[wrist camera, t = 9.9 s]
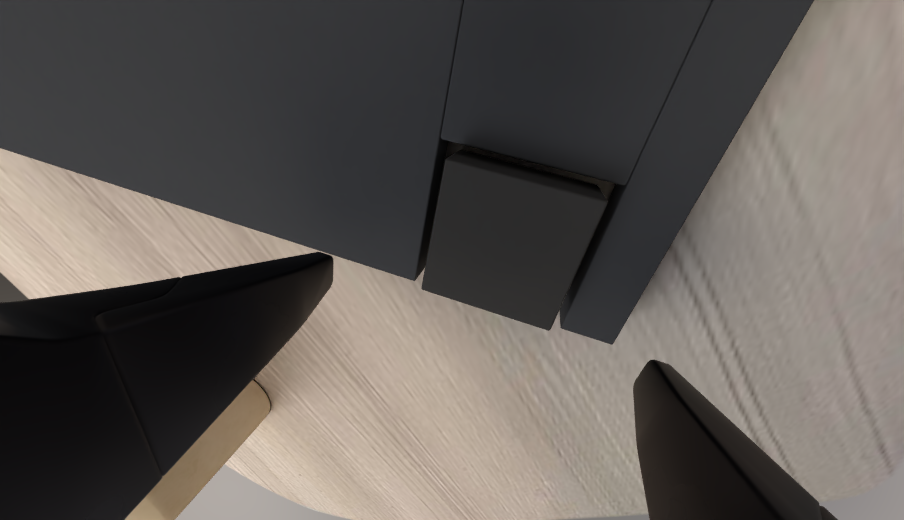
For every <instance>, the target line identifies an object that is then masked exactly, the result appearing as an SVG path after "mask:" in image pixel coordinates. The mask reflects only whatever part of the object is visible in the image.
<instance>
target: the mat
mask: <svg viewBox="0 0 904 520" xmlns="http://www.w3.org/2000/svg"><path fill="white" fill-rule="evenodd" d="M813 1H814V0H0V148H2V149H5V150H8V151H11V152H14V153H17V154H20V155H24V156H27V157H30V158H33V159H36V160H39V161H42V162H45V163H49V164H52V165H55V166H58V167H61V168H64V169H67V170H70V171H73V172H77V173H80V174H83V175H86V176H89V177H92V178H95V179H98V180H101V181H105V182H108V183H111V184H114V185H117V186H120V187H123V188H126V189H129V190H133V191H136V192H139V193H142V194H145V195H148V196H151V197H154V198H158V199H161V200H164V201H167V202H170V203H173V204H176V205H179V206H182V207H186V208H189V209H192V210H195V211H198V212H201V213H204V214H207V215H210V216H214V217H217V218H220V219H223V220H226V221H229V222H232V223H235V224H239V225H242V226H245V227H248V228H251V229H254V230H257V231H260V232H263V233H267V234H270V235H273V236H276V237H279V238H282V239H285V240H288V241H291V242H295V243H298V244H301V245H304V246H307V247H310V248H313V249H316V250H319V251H323V252H326V253H329V254H332V255H335V256H338V257H341V258H344V259H348V260H351V261H354V262H357V263H360V264H363V265H366V266H369V267H372V268H376V269H379V270H382V271H385V272H388V273H391V274H394V275H397V276H400V277H404V278H407V279H410V280H413V281H415V280H416V279H417V277H418V276H419V275H420V273H421V272H422V271H423V269H424V268H425V263H426V257H427V252H428V247H429V241H430V236H431V230H432V225H433V219H434V214H435V209H436V203H437V198H438V192H439V187H440V181H441V176H442V170H443V165H444V160H445V154H446V149H447V143H448V141H451V142H455V143H459V144H463V145H467V146H471V147H475V148H479V149H482V150H486V151H490V152H494V153H498V154H502V155H506V156H510V157H514V158H518V159H522V160H526V161H529V162H533V163H537V164H541V165H545V166H549V167H553V168H557V169H561V170H565V171H569V172H573V173H576V174H580V175H584V176H588V177H592V178H596V179H600V180H604V181H608V182H612V183H616V186H615V188H614V190H613V192H612V195H611V197H610V199H609V201H608V204H607V206H606V208H605V210H604V213H603V215H602V217H601V219H600V221H599V224H598V226H597V228H596V230H595V233H594V235H593V237H592V239H591V241H590V244H589V246H588V248H587V250H586V253H585V255H584V257H583V259H582V261H581V264H580V266H579V268H578V270H577V273H576V275H575V277H574V279H573V282H572V284H571V286H570V288H569V290H568V293H567V295H566V297H565V299H564V302H563V304H562V306H561V308H560V324H561V328H562V329H565V330H568V331H571V332H574V333H578V334H581V335H584V336H587V337H590V338H593V339H596V340H599V341H602V342H606V343H609V344H613V343H614V341H615V339H616V338H617V336H618V334H619V333H620V331H621V329H622V328H623V326H624V324H625V322H626V321H627V319H628V317H629V316H630V314H631V312H632V310H633V309H634V307H635V305H636V304H637V302H638V300H639V298H640V297H641V295H642V293H643V292H644V290H645V288H646V286H647V285H648V283H649V281H650V280H651V278H652V276H653V275H654V273H655V271H656V269H657V268H658V266H659V264H660V263H661V261H662V259H663V257H664V256H665V254H666V252H667V251H668V249H669V247H670V245H671V244H672V242H673V240H674V239H675V237H676V235H677V233H678V232H679V230H680V228H681V227H682V225H683V223H684V222H685V220H686V218H687V216H688V215H689V213H690V211H691V210H692V208H693V206H694V204H695V203H696V201H697V199H698V198H699V196H700V194H701V192H702V191H703V189H704V187H705V186H706V184H707V182H708V180H709V179H710V177H711V175H712V174H713V172H714V170H715V169H716V167H717V165H718V163H719V162H720V160H721V158H722V157H723V155H724V153H725V151H726V150H727V148H728V146H729V145H730V143H731V141H732V139H733V138H734V136H735V134H736V133H737V131H738V129H739V127H740V126H741V124H742V122H743V121H744V119H745V117H746V116H747V114H748V112H749V110H750V109H751V107H752V105H753V104H754V102H755V100H756V98H757V97H758V95H759V93H760V92H761V90H762V88H763V86H764V85H765V83H766V81H767V80H768V78H769V76H770V74H771V73H772V71H773V69H774V68H775V66H776V64H777V63H778V61H779V59H780V57H781V56H782V54H783V52H784V51H785V49H786V47H787V45H788V44H789V42H790V40H791V39H792V37H793V35H794V33H795V32H796V30H797V28H798V27H799V25H800V23H801V21H802V20H803V18H804V16H805V15H806V13H807V11H808V10H809V8H810V6H811V4H812V3H813Z"/></svg>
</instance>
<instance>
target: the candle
mask: <svg viewBox="0 0 904 520" xmlns="http://www.w3.org/2000/svg"><path fill="white" fill-rule="evenodd" d="M269 411H270V402H269V399H268V397H267V395H266V394H265V392H264V391H263V390H262V388H261V387H260V386H259V385H258V384H257V383H256V382H255V381H253V380H252V381H251V382H250V383H249V384H248V385H247V386H246V388H245V389H244V390H243V391H242V392H241V393H240V394H239V395H238V396H237V397H236V398H235V399H234V401H233V402H232V403H231V404H230V405H229V406H228V407H227V408H226V409H225V410H224V411H223V413H222V414H221V415H220V416H219V417H218V418H217V419H216V420H215V421H214V422H213V423H212V425H211V426H210V427H209V428H208V429H207V430H206V431H205V432H204V433H203V434H202V435H201V437H200V438H199V439H198V440H197V441H196V442H195V443H194V444H193V445H192V446H191V447H190V449H189V450H188V451H187V452H186V453H185V454H184V455H183V456H182V457H181V458H180V459H179V461H178V462H177V463H176V464H175V465H174V466H173V467H172V468H171V469H170V470H169V471H168V473H167V474H166V475H165V476H162V477H163V478H162V479H161V481H160V482H159V483H158V484H157V485H156V486H155V487H154V488H153V489H152V490H151V491H150V493H149V494H148V495H147V496H146V497H145V498H144V499H143V500H142V501H141V502H140V503H139V505H138V506H137V507H136V508H135V509H134V510H133V511H132V512H131V513H130V514H129V515H128V516H127V518H126V519H125V520H175V519H176V518H177V517H178V515H179V514H180V513H181V512H182V511H183V510H184V509H185V508H186V506H187V505H188V504H189V503H190V502H191V501H192V500H193V499H194V497H195V496H196V495H197V494H198V493H199V492H200V491H201V490H202V488H203V487H204V486H205V485H206V484H207V483H208V482H209V481H210V479H211V478H212V477H213V476H214V475H215V474H216V473H217V472H218V470H219V469H220V468H221V467H222V466H223V465H224V464H225V463H226V461H227V460H228V459H229V458H230V457H231V456H232V455H233V454H234V452H235V451H236V450H237V449H238V448H239V447H240V446H241V445H242V443H243V442H244V441H245V440H246V439H247V438H248V437H249V436H250V434H251V433H252V432H253V431H254V430H255V429H256V428H257V427H258V425H259V424H260V423H261V422H262V421H263V420H264V418H265V417H266V416H267V415H268V413H269Z"/></svg>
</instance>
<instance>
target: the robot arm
mask: <svg viewBox="0 0 904 520" xmlns="http://www.w3.org/2000/svg"><path fill="white" fill-rule="evenodd" d="M332 282H333V258H332V256H330V255H327V254H324V253H321V252H316V253H310V254H305V255H299V256H293V257H288V258H282V259H277V260H271V261H266V262H260V263H255V264H249V265H244V266H238V267H233V268H227V269H222V270H216V271H211V272H205V273H200V274H194V275H188V276H183V277H182V278H180V277H177V278H171V279H166V280H160V281H154V282H149V283H143V284H137V285H130V286H124V287H117V288H110V289H103V290H96V291H89V292H81V293H74V294H67V295H59V296H52V297H45V298H37V299H30V300H23V301H14V302H3V303H2V302H1V303H0V520H125V519H126V518H127V516H128V515H129V514H130V513H131V512H132V511H133V510H134V509H135V508H136V507H137V506H138V505H139V503H140V502H141V501H142V500H143V499H144V498H145V497H146V496H147V495H148V494H149V493H150V491H151V490H152V489H153V488H154V487H155V486H156V485H157V484H158V483H159V482H160V481H161V479H162V478H163V477H162V476H165V475H166V474H167V473H168V471H169V470H170V469H171V468H172V467H173V466H174V465H175V464H176V463H177V462H178V461H179V459H180V458H181V457H182V456H183V455H184V454H185V453H186V452H187V451H188V450H189V449H190V447H191V446H192V445H193V444H194V443H195V442H196V441H197V440H198V439H199V438H200V437H201V435H202V434H203V433H204V432H205V431H206V430H207V429H208V428H209V427H210V426H211V425H212V423H213V422H214V421H215V420H216V419H217V418H218V417H219V416H220V415H221V414H222V413H223V411H224V410H225V409H226V408H227V407H228V406H229V405H230V404H231V403H232V402H233V401H234V399H235V398H236V397H237V396H238V395H239V394H240V393H241V392H242V391H243V390H244V389H245V388H246V386H247V385H248V384H249V383H250V382H251V381H252V380H253V379H254V378H255V377H256V376H257V374H258V373H259V372H260V371H261V370H262V369H263V368H264V367H265V366H266V365H267V364H268V362H269V361H270V360H271V359H272V358H273V357H274V356H275V355H276V354H277V353H278V352H279V350H280V349H281V348H282V347H283V346H284V345H285V344H286V343H287V342H288V341H289V340H290V338H291V337H292V336H293V335H294V334H295V333H296V332H297V331H298V330H299V328H300V327H301V326H302V325H303V324H304V322H305V321H306V320H307V318H308V317H309V316H310V314H311V313H312V312H313V310H314V309H315V308H316V306H317V305H318V303H319V302H320V301H321V299H322V298H323V297H324V295H325V294H326V293H327V291H328V290H329V288H330V287H331V285H332ZM633 395H634V411H635V428H636V441H637V450H638V456H639V462H640V468H641V473H642V479H643V485H644V490H645V496H646V501H647V507H648V513H649V518H650V520H837V519H836V518H835V517H834V516H833V515H832V514H831V513H830V512H829V511H828V510H827V509H825V508H824V507H823V506H819V502H818V501H817V500H816V499H815V498H814V497H812V496H811V495H810V494H809V493H808V492H807V491H806V490H805V489H804V488H803V487H802V486H800V485H799V484H798V483H797V482H796V481H795V480H794V479H793V478H792V477H791V476H790V475H789V474H787V473H786V472H785V471H784V470H783V469H782V468H781V467H780V466H779V465H778V464H777V463H776V462H774V461H773V460H772V459H771V458H770V457H769V456H768V455H767V454H766V453H765V452H764V451H763V450H761V449H760V448H759V447H758V446H757V445H756V444H755V443H754V442H753V441H752V440H751V439H750V438H748V437H747V436H746V435H745V434H744V433H743V432H742V431H741V430H740V429H739V428H738V427H737V426H735V425H734V424H733V423H732V422H731V421H730V420H729V419H728V418H727V417H726V416H725V415H724V414H722V413H721V412H720V411H719V410H718V409H717V408H716V407H715V406H714V405H713V404H712V403H711V402H709V401H708V400H707V399H706V398H705V397H704V396H703V395H702V394H701V393H700V392H699V391H698V390H696V389H695V388H694V387H693V386H692V385H691V384H690V383H689V382H688V381H687V380H686V379H685V378H683V377H682V376H681V375H680V374H679V373H678V372H677V371H676V370H675V369H674V368H673V367H672V366H670V365H669V364H666V363H663V362H660V361H657V360H650V361H649V362H648V363H647V364H646V366H645V367H644V369H643V370H642V371H641V373H640V374H639V376H638V377H637V379H636V381H635V383H634V386H633Z"/></svg>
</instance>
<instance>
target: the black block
mask: <svg viewBox="0 0 904 520" xmlns="http://www.w3.org/2000/svg"><path fill="white" fill-rule="evenodd" d="M606 205H607V200H606V198H605V196H604V195H603V193H602V191H601V190H600V188H599V186H598V185H595V184H591V183H587V182H583V181H580V180H576V179H572V178H568V177H564V176H560V175H556V174H553V173H549V172H545V171H541V170H537V169H533V168H530V167H526V166H522V165H518V164H514V163H510V162H506V161H503V160H499V159H495V158H491V157H487V156H483V155H479V154H476V153H472V152H468V151H464V150H460V151H459V152H457V153H455V154H453V155H452V156H450V157H448V158H446V160H445V164H444V170H443V175H442V180H441V186H440V191H439V197H438V202H437V207H436V213H435V218H434V223H433V229H432V234H431V239H430V245H429V250H428V255H427V261H426V266H425V272H424V277H423V282H422V290H425V291H428V292H431V293H434V294H438V295H441V296H444V297H447V298H450V299H453V300H456V301H459V302H462V303H465V304H468V305H471V306H474V307H478V308H481V309H484V310H487V311H490V312H493V313H496V314H499V315H502V316H505V317H508V318H511V319H514V320H518V321H521V322H524V323H527V324H530V325H533V326H536V327H539V328H542V329H545V330H550V329H551V327H552V325H553V323H554V321H555V319H556V316H557V314H558V312H559V310H560V307H561V305H562V303H563V301H564V299H565V296H566V294H567V292H568V290H569V287H570V285H571V283H572V281H573V279H574V276H575V274H576V272H577V270H578V267H579V265H580V263H581V261H582V259H583V256H584V254H585V252H586V250H587V248H588V245H589V243H590V241H591V239H592V236H593V234H594V232H595V230H596V228H597V225H598V223H599V221H600V219H601V216H602V214H603V212H604V210H605V208H606Z"/></svg>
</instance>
